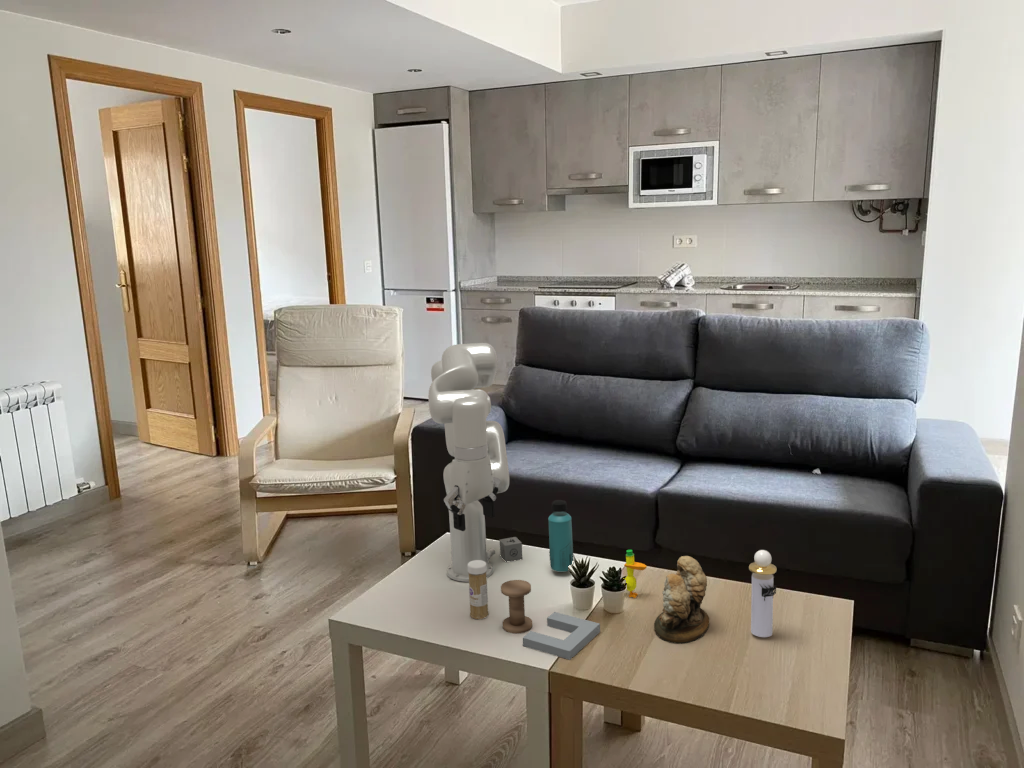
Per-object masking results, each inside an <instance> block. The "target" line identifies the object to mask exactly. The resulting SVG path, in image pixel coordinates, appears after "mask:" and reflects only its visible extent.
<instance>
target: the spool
mask: <svg viewBox="0 0 1024 768" xmlns="http://www.w3.org/2000/svg"><path fill="white" fill-rule="evenodd" d="M500 592H501V594H502V595H504V596H505V597H508V612H509V613H508V614H509V616H508V617H506V618H505V619H503V620H502V629H503V631H505V632H507V633H509V634H514V635H516V634H524V633H527V632H530V631H532V629H533V624H534V623H533V620H532V618H530V616H527V615H526V613H525V611H526V610H525V609H526V608H525V607H526V606H525V596H527V595H530V593H531V592H532V585H531V583H530V582H529V581H527V580H524V579H511V580H507V581H505V582H503V583H501V585H500Z"/></svg>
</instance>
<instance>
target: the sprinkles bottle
mask: <svg viewBox="0 0 1024 768" xmlns="http://www.w3.org/2000/svg"><path fill="white" fill-rule="evenodd" d="M486 571H487V566H486V562H484V561H481V560H474V561H471V562H469V563H468V573H469V582H468V583H469V585H468V588H469V589H468V590H469V591H468V593H469V606H470V607H469V610H470V612H469V615H470V617H471V618H472V619H474V620H483V619H486V618H487V617H488V616H489V611H488V610H489V605H488V602H489V598H488V582H487V580H488V579H487V578H486Z"/></svg>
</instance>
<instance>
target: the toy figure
mask: <svg viewBox="0 0 1024 768" xmlns="http://www.w3.org/2000/svg"><path fill="white" fill-rule="evenodd" d="M623 566H624V567H625V568H626V573H627V575H626V577H625V578H624V579H625V580H626V583H627V589H626V590H627V592H629V594H628V596H629V598H631V597H633V598H632V599H637V597H638V595H639V594H638V593H636V592H634V591H635V590H636V589H637V578H636V577H635V576H634V572H635V570H636V571H637V570H638V571H644V570H646V569H647V567H648V566H647V565H646V564H645V563H642V562H637V561H635V553H633V549H627V550H626V554H625V563H624V564H623Z"/></svg>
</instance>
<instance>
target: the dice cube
mask: <svg viewBox="0 0 1024 768" xmlns="http://www.w3.org/2000/svg"><path fill="white" fill-rule="evenodd" d="M498 541H499V556H500V555H501V556H500V558H501V559H502V558H503V559H504V560H505V561H506V562H505V561H504V560H503V559H502V560H503V561H504V562H505V563H508V562H507V561H510V562H515V561H514V560H516V561H520V559H521V560H523V542H522V541H521V540H519V539H518V537H517V536H513V537H512V536H511V537H507V538H501V539H500V538H499V540H498Z"/></svg>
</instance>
